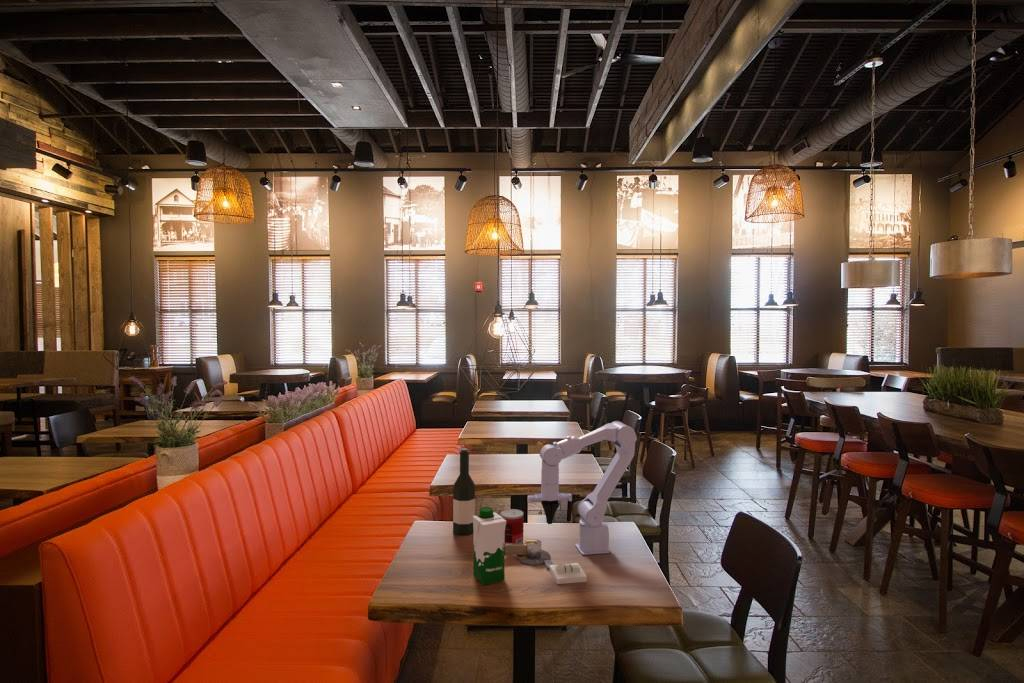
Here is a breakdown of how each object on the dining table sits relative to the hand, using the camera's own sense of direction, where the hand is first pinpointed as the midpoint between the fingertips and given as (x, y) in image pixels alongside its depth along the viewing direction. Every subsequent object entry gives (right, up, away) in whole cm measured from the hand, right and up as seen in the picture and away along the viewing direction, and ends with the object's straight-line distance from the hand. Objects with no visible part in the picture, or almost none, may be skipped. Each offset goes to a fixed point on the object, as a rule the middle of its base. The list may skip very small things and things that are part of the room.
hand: (549, 523), depth 180 cm
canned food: (-12, -10, +6) cm, 17 cm away
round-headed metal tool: (-10, -9, -4) cm, 14 cm away
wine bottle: (-30, -9, +17) cm, 35 cm away
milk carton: (-19, -11, -17) cm, 28 cm away
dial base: (-5, -10, -5) cm, 12 cm away
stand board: (+4, -11, -15) cm, 19 cm away
